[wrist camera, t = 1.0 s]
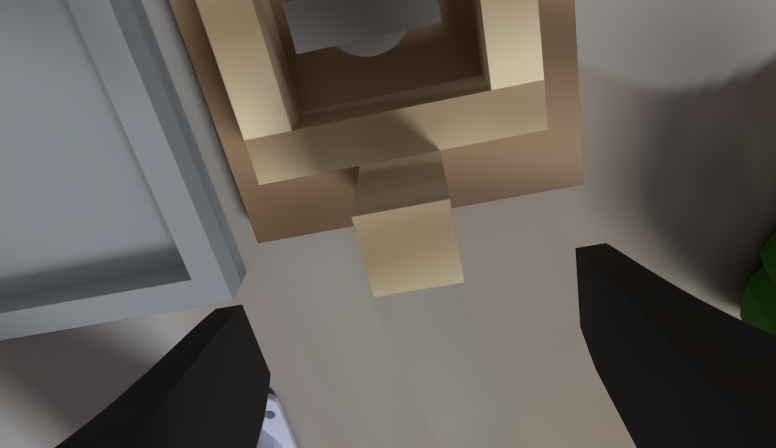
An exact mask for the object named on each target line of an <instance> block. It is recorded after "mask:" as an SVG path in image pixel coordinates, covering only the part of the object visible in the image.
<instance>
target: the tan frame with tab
mask: <svg viewBox="0 0 776 448" xmlns="http://www.w3.org/2000/svg"><path fill="white" fill-rule="evenodd" d="M472 2H473V9H474V17H475V25H476V32H477V40H478V48H479V55H480V63H481V71H482V75H479V76H474V77H469V78H464V79H459V80H455V81H450V82H445V83H440V84H435V85H430V86H425V87H421V88H416V89H411V90H406V91H401V92H396V93H392V94H387V95H382V96H377V97H372V98H367V99H362V100H358V101H353V102H348V103H343V104H338V105H333V106H328V107H324V108H319V109H314V110H309V111H304V112H302V111H301V107H300V104H299V100H298V97H297V93H296V90H295V87H294V83H293V80H292V76H291V73H290V69H289V66H288V62H287V59H286V55H285V52H284V48H283V45H282V41H281V38H280V35H279V31H278V28H277V24H276V21H275V17H274V14H273V10H272V7H271V3H270V0H196V3H197V6H198V9H199V12H200V15H201V18H202V21H203V24H204V26H205V29H206V32H207V35H208V38H209V41H210V44H211V47H212V50H213V52H214V55H215V58H216V61H217V64H218V67H219V70H220V73H221V75H222V78H223V81H224V84H225V87H226V90H227V93H228V96H229V99H230V101H231V104H232V107H233V110H234V113H235V116H236V119H237V122H238V125H239V127H240V130H241V133H242V136H243V139H244V142H245V145H246V148H247V151H248V153H249V156H250V159H251V162H252V165H253V168H254V171H255V174H256V176H257V179H258V182H259V185H263V184H268V183H273V182H278V181H283V180H289V179H294V178H299V177H304V176H309V175H315V174H320V173H325V172H330V171H335V170H340V169H346V168H351V167H356V166H360V168H359V174H358V180H357V186H356V193H355V199H354V205H353V211H352V221H353V224H354V228H355V232H356V235H357V239H358V243H359V247H360V250H361V254H362V258H363V261H364V265H365V269H366V272H367V276H368V280H369V284H370V287H371V291H372V295H373V297H378V296H384V295H390V294H396V293H402V292H408V291H414V290H420V289H426V288H432V287H438V286H444V285H450V284H456V283H462V282H464V277H463V272H462V266H461V260H460V254H459V249H458V243H457V237H456V232H455V226H454V220H453V214H452V209H451V203H450V197H449V193H448V188H447V183H446V178H445V173H444V168H443V163H442V158H441V153H440V150H444V149H449V148H454V147H460V146H465V145H470V144H475V143H480V142H486V141H491V140H496V139H501V138H506V137H511V136H517V135H522V134H527V133H532V132H537V131H543V130H548V122H547V109H546V96H545V84H544V71H543V58H542V46H541V33H540V20H539V7H538V0H472Z"/></svg>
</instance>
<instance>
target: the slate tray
mask: <svg viewBox="0 0 776 448" xmlns="http://www.w3.org/2000/svg"><path fill="white" fill-rule="evenodd" d="M245 274H246V270H245V267H244V265H243V262H242V260H241V257H240V254H239V252H238V249H237V247H236V244H235V242H234V239H233V236H232V234H231V231H230V229H229V226H228V224H227V221H226V218H225V216H224V213H223V211H222V208H221V206H220V203H219V200H218V198H217V195H216V193H215V190H214V188H213V185H212V183H211V180H210V177H209V175H208V172H207V170H206V167H205V165H204V162H203V159H202V157H201V154H200V152H199V149H198V147H197V144H196V141H195V139H194V136H193V134H192V131H191V129H190V126H189V123H188V121H187V118H186V116H185V113H184V111H183V108H182V105H181V103H180V100H179V98H178V95H177V93H176V90H175V88H174V85H173V82H172V80H171V77H170V75H169V72H168V70H167V67H166V64H165V62H164V59H163V57H162V54H161V52H160V49H159V46H158V44H157V41H156V39H155V36H154V34H153V31H152V28H151V26H150V23H149V21H148V18H147V16H146V13H145V10H144V8H143V5H142V3H141V0H0V340H6V339H12V338H18V337H24V336H30V335H36V334H42V333H47V332H53V331H59V330H65V329H71V328H77V327H83V326H89V325H95V324H100V323H106V322H112V321H118V320H124V319H130V318H136V317H142V316H147V315H153V314H159V313H165V312H171V311H177V310H183V309H189V308H195V307H200V306H206V305H212V304H218V303H224V302H230V301H234V298H235V296H236V294H237V292H238V290H239V287H240V285H241V283H242V281H243V278H244V276H245Z"/></svg>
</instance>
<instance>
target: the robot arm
mask: <svg viewBox="0 0 776 448" xmlns="http://www.w3.org/2000/svg"><path fill="white" fill-rule="evenodd" d="M576 264H577V280H578V296H579V312H580V327H581V330H582V333H583V336H584V338H585V341H586V344H587V347H588V350H589V352H590V355H591V358H592V360H593V363H594V365H595V368H596V370H597V372H598V374H599V376H600V378H601V380H602V382H603V384H604V386H605V388H606V390H607V392H608V394H609V396H610V398H611V399H612V401H613V403H614V405H615V407H616V409H617V411H618V413H619V415H620V417H621V419H622V420H623V422H624V424H625V426H626V428H627V430H628V432H629V434H630V436H631V438H632V439H633V441H634V443H635V445H636V447H637V448H776V335H773V334H771V333H769V332H766V331H764V330H761V329H759V328H757V327H754V326H752V325H750V324H748V323H746V322H744V321H741V320H739V319H737V318H735V317H733V316H731V315H729V314H727V313H725V312H723V311H721V310H719V309H717V308H715V307H713V306H711V305H709V304H707V303H706V302H704V301H702V300H700V299H698V298H696V297H694V296H693V295H691V294H689V293H687V292H685V291H684V290H682V289H680V288H678V287H677V286H675V285H673V284H671V283H670V282H668V281H666V280H665V279H663V278H661V277H660V276H658V275H656V274H655V273H653V272H652V271H650V270H648V269H647V268H645V267H644V266H642V265H640V264H639V263H637V262H636V261H634V260H632V259H631V258H629V257H628V256H626V255H625V254H623V253H621V252H620V251H618V250H617V249H615V248H613V247H612V246H610V245H608V244H607V243H604V244H598V245H592V246H586V247H580V248H576ZM270 375H271V374H270V372H269V369H268V367H267V364H266V362H265V360H264V357H263V355H262V352H261V350H260V347H259V345H258V342H257V340H256V338H255V335H254V333H253V330H252V328H251V325H250V323H249V320H248V318H247V315H246V313H245V311H244V308H243V306H242V305H237V306H231V307H225V308H219V309H215V310H214V311H213V312H212V313H210V314H209V315H208V316H207V317H206V318H204V319H203V320H202V321H201V322H200V323H199V324H198V325H197V326H196V327H195V328H193V329H192V330H191V331H190V332H189V333H188V334H187V335H186V336H185V337H184V338H183V339H182V340H181V341H180V342H179V343H178V344H177V345H176V346H174V347H173V348H172V349H171V350H170V351H169V352H168V353H167V354H166V355H165V356H164V357H163V358H162V359H161V360H160V361H159V362H157V363H156V364H155V365H154V366H153V367H152V368H151V369H150V370H149V371H148V372H147V373H146V374H145V375H143V376H142V377H141V378H140V379H139V380H138V381H137V382H135V383H134V384H133V385H132V386H131V387H130V388H129V389H127V390H126V391H125V392H124V393H123V394H122V395H121V396H119V397H118V398H117V399H116V400H115V401H114V402H113V403H112V404H110V405H109V406H108V407H107V408H106V409H104V410H103V411H102V412H101V413H100V414H98V415H97V416H96V417H95V418H93V419H92V420H91V421H90V422H88V423H87V424H86V425H84V426H83V427H82V428H80V429H79V430H78V431H76V432H75V433H74V434H72V435H71V436H70V437H68V438H67V439H66V440H65V441H63V442H62V443H60V444H59V445H58V446H56V447H55V448H298V447H297V444H296V442H295V439H294V437H293V435H292V432H291V430H290V427H289V425H288V422H287V420H286V418H285V415H284V413H283V410H282V408H281V405H280V403H279V400H278V399H277V397H276V396H274V395H272V394H269V393H268V392H269V383H270ZM269 411H272V412H269Z"/></svg>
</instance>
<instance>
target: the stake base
mask: <svg viewBox="0 0 776 448" xmlns="http://www.w3.org/2000/svg"><path fill="white" fill-rule="evenodd" d="M169 2H170V4H171V7H172V10H173V12H174V15H175V18H176V21H177V23H178V26H179V29H180V32H181V34H182V37H183V40H184V42H185V45H186V48H187V51H188V53H189V56H190V59H191V62H192V64H193V67H194V70H195V72H196V75H197V78H198V81H199V83H200V86H201V89H202V91H203V94H204V97H205V100H206V102H207V105H208V108H209V111H210V113H211V116H212V119H213V121H214V124H215V127H216V130H217V132H218V135H219V138H220V140H221V143H222V146H223V149H224V151H225V154H226V157H227V160H228V162H229V165H230V168H231V170H232V173H233V176H234V179H235V181H236V184H237V187H238V190H239V192H240V195H241V198H242V200H243V203H244V206H245V209H246V211H247V214H248V217H249V219H250V222H251V225H252V228H253V230H254V233H255V236H256V239H257V241H258V243H262V242H267V241H273V240H278V239H284V238H289V237H295V236H300V235H306V234H312V233H317V232H323V231H328V230H334V229H339V228H345V227H350V226H354V224H353V221H352V211H353V205H354V199H355V193H356V186H357V180H358V174H359V168H360V166H356V167H351V168H346V169H340V170H335V171H330V172H325V173H320V174H315V175H309V176H304V177H299V178H294V179H289V180H283V181H278V182H273V183H268V184H263V185H259V182H258V179H257V176H256V174H255V171H254V168H253V165H252V162H251V159H250V156H249V153H248V151H247V148H246V145H245V142H244V139H243V136H242V133H241V130H240V127H239V125H238V122H237V119H236V116H235V113H234V110H233V107H232V104H231V101H230V99H229V96H228V93H227V90H226V87H225V84H224V81H223V78H222V75H221V73H220V70H219V67H218V64H217V61H216V58H215V55H214V52H213V50H212V47H211V44H210V41H209V38H208V35H207V32H206V29H205V26H204V24H203V21H202V18H201V15H200V12H199V9H198V6H197V3H196V0H169ZM270 3H271V7H272V10H273V14H274V17H275V21H276V24H277V28H278V31H279V35H280V38H281V41H282V45H283V48H284V52H285V55H286V59H287V62H288V66H289V69H290V73H291V76H292V80H293V83H294V87H295V90H296V93H297V97H298V100H299V104H300V107H301V111H302V112H304V111H309V110H314V109H319V108H324V107H328V106H333V105H338V104H343V103H348V102H353V101H358V100H362V99H367V98H372V97H377V96H382V95H387V94H392V93H396V92H401V91H406V90H411V89H416V88H421V87H425V86H430V85H435V84H440V83H445V82H450V81H455V80H459V79H464V78H469V77H474V76H479V75H482V71H481V63H480V55H479V48H478V40H477V32H476V25H475V17H474V9H473V2H472V0H270ZM538 7H539V20H540V33H541V46H542V58H543V71H544V84H545V96H546V109H547V122H548V130H543V131H537V132H532V133H527V134H522V135H517V136H511V137H506V138H501V139H496V140H491V141H486V142H480V143H475V144H470V145H465V146H460V147H454V148H449V149H444V150H440V153H441V158H442V163H443V168H444V173H445V178H446V183H447V188H448V193H449V197H450V203H451V208H455V207H461V206H466V205H472V204H477V203H483V202H488V201H494V200H499V199H505V198H510V197H516V196H522V195H527V194H533V193H538V192H544V191H549V190H555V189H560V188H566V187H571V186H577V185H582V184H584V180H583V160H582V140H581V121H580V101H579V81H578V61H577V41H576V22H575V2H574V0H538Z"/></svg>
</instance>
